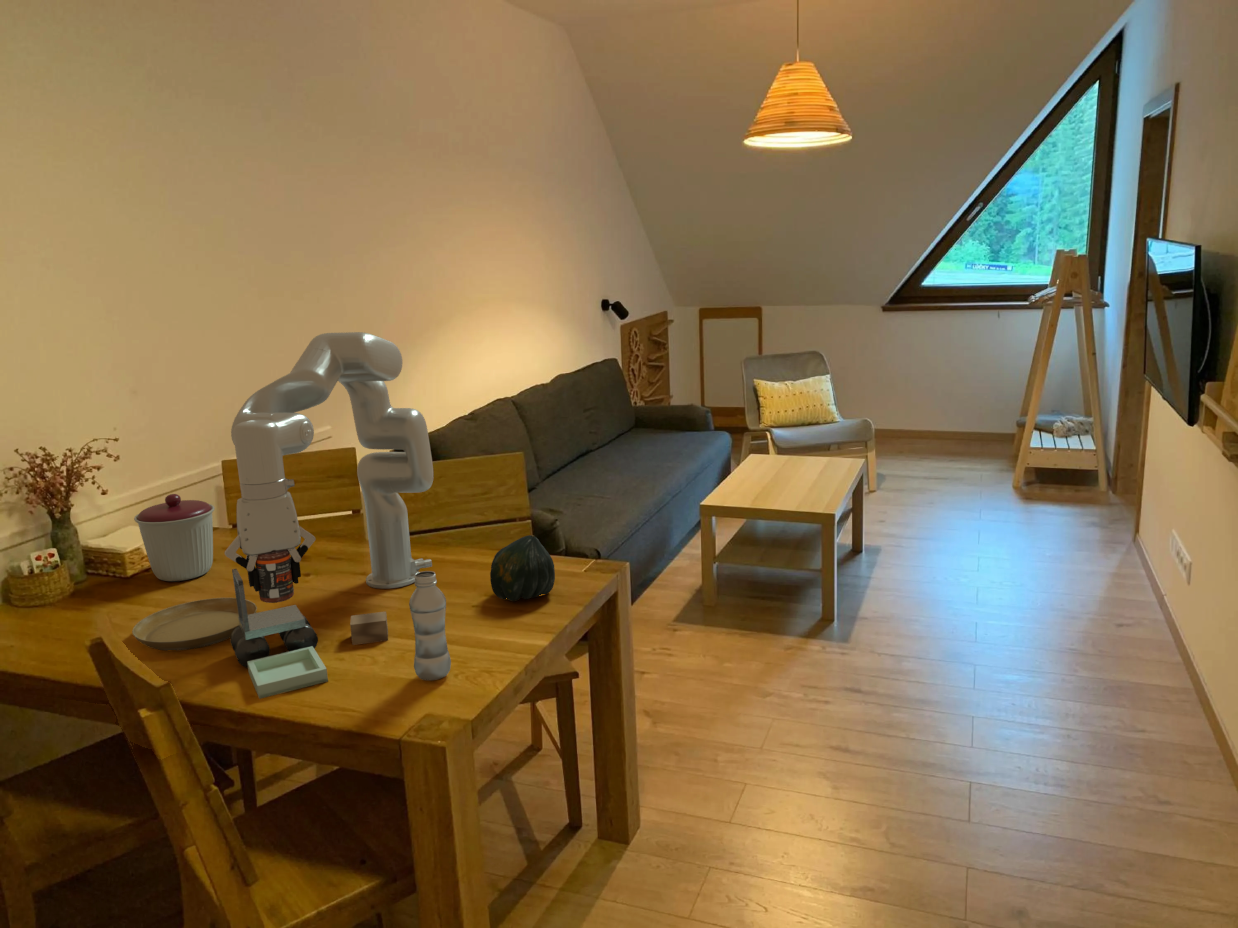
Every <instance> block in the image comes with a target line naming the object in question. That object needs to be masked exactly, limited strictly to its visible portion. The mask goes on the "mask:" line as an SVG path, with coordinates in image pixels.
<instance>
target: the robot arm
mask: <svg viewBox="0 0 1238 928" xmlns="http://www.w3.org/2000/svg"><path fill="white" fill-rule="evenodd" d="M402 369H403V356H402V353H401V351H400V348H399V347H398V345H396V344H395V343H394V342H393V341H390V340H387V339H385V338H383V337H379V336H377V335H374V334H372V333H368V332H365V331H364V332H363V331H362V332H360V331H349V332H348V331H347V332H327V333H320V334H318V335H316V336H314V337H313V338H312V339H311V340H310V342H309V344H308V345H307V346H306V348H305V349H304V351H303V352H302V354H301V355H300V356H299V359H298V360H297V361H296V363H295V365H294V366H293V368H292V369H291V371H290V372H289V373H287V374H286V375H284V376H281V377H280V378H278V379H277V378H276V379H275V380H274V381H272V382H271V383H269V384H267V385H265V386H263V387H262V388H260V389H258V390H257V391H255V392H254V393H252V395H250V396H249V397H248V398H247V399H246V401H245V402H244V403H243V404H242V406H241V408H240V409H239V410H238V412H237V414H236V415H235V417H234V419H233V421H232V425H231V429H230V430H231V431H230V434H231V435H230V437H231V441H232V443H233V445H234V450H235V456H236V464H237V471H238V472H237V473H238V479H239V489H240V494H241V497H240V498H238V499H237V500H236V529H237V536H236V537H235V538H234V539H233V540H232V542H231V543H230V544H229V545H228V547H227V548H226V550H225V551H224V556H225V557H226V558H228V559H229V560H231V561H233V562H234V563H236V564H238V565H239V566H241V567H243V569H245V570H246V571H247V577H248V578H247V579H248V584H249V585H248V586H249V587H250V588H252V587H253V590H254V591H255V592H256V593H257V592H259V590H260V586H259V578H258V571H257V569H256V564H255V563H256V559H257V556H258V555H260V554H264V553H268V552H271V551H272V550H287V549H288V551H289V553H290V562H291V570H292V579H293V584H296V585H297V584H299V578H301V577H302V572H301V566H300V562H301V561H302V558H303V557H304V555H305V554H306V553H307V551H308V550H309V549H310V548H311V546H312V545H313V544H314V542H315V541H316V536H314V535H313V534H312V533H310V532H309V531H307V530H305V529H304V528H303V527H302V526H301V525H299V520H298V519H299V518H298V514H297V510H296V507H295V502H294V500H293V497H292V494H291V492H290V491H288V490H289V489H290V488H292V487H295V481H294V478H292V479H291V478H290V479H289V478H288V479H287V478H286V475H285V469H284V468H285V467H284V458H283V457H284V456H286V455H293V454H299V453H302V452H303V451H305V450H306V449H308V447H310V445H311V443H312V441H313V440H314V436H315V430H314V425H313V423H312V421H311V420H310V419H309V418H308V417H307V416H306V415H304V414H301V413H299V412H302V411H305V410H308V409H311V408H314V407H316V406H318V405H321V404H322V403H325V402H326V401H327V400H328V399H329V397H330V395H331V393H332V391H333V390H334V388H335V386H336V385H337V383H338V382H339V383H340V384H341V385H342V386H343V387H344V388H345V390H346V392H347V394H348V397H349V401H350V405H351V410H352V415H353V420H354V426H355V431H356V435H357V438H358V439H357V440H358V442H359V444H360V445H361V446H362V448H364V449H369V450H383V451H378V452H377V451H376V452H371V453H368V454H365V455H364V456H362V457H361V458H360V459H359V461H358V462H357V463H358V464H357V467H356V468H357V469H356V475H357V479H358V483H359V487H360V489H361V492H362V493H361V494H362V497H363V501H364V507H365V508H364V509H365V516H366V527H367V538H368V545H369V546H368V547H369V555H370V556H369V557H370V558H369V559H370V566H371V573H369V574H368V575H367V576H366V578H365V581H366V582H365V583H366V585H367V586H369V587H371V588H372V589H373V588H374V589H379V590H380V589H383V590H384V589H385V590H386V589H396V588H402V587H405V586H409V585H411V584H415V577H414V576H415V574H416V573H419V572H420V569H426V568H430V567H433V562H432V559H430V558H428V559H427V558H426V559H424V558H422V557H421V558H417V559H414V558H413V557H412V552H411V551H412V550H411V549H412V548H411V541H410V540H411V538H410V529H409V527H410V526H409V518H408V508H407V505H406V503H405V501H404V500H403V498H402V497H401V496H400V494H399V493H403V494H404V493H406V494H407V493H411V494H412V493H422V492H423V493H424V492H426V491H428V490H429V489H430V488H431V487H432V485H433V481H434V466H433V465H434V464H433V457H432V451H431V444H430V438H429V431H428V425H427V422H426V419H425V417H424V415H423V413H421V412H420V411H419V410H418V409H416V408H410V407H393V406H392V403H391V402H390V396H389V390H388V387H387V384H386V383H385V382H391V381H394V380H395V379H397V378H398V377H399V376H400V374H401V373H402ZM384 450H403V451H384ZM301 537H302V538H303V539H304V540H303V541H302V538H301ZM239 549H240V550H242V553H243V555H245V556H246V558H245V557H244V556H242V555H240V554H238V553H237V551H238V550H239Z"/></svg>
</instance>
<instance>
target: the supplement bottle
mask: <svg viewBox="0 0 1238 928" xmlns="http://www.w3.org/2000/svg"><path fill="white" fill-rule="evenodd" d="M290 557H291V555H290V553H289V551H288V549H287V550H272V551H271V552H268V553H264V554H260V555H258V556H257V559H256V563H255V567H256V569H257V571H258V578H259V586H260V590H259V591H258V596H259V600H260V601H261V602H263V603H266V604H275V603H282V602H285V601H287V600H290V599H291V598H293V596H294V594H295V593H294V592H295V591H294V590H295V589H294V582H293V579H292V570H291V562H290V559H291V558H290Z"/></svg>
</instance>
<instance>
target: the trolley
mask: <svg viewBox="0 0 1238 928" xmlns="http://www.w3.org/2000/svg"><path fill="white" fill-rule="evenodd" d="M231 574H232V578H233V579H232V580H233V585H234V592H235V598H236V602H237V609H238V616H239V617H238V621H239V626H238V627H236V628H235V629H234V630H233V632H232V633H231V637H230V638H229V643H230V646H231V648H232V650H233V651H234V654H235V658H236V660H237V662H238V663H239V664H240V665H241V666H242V667H244V668H246V669H248V664H247V661H251V660H256V659H260V658H264V657H268V656H271V647H270V645H269V643H268V641H267V639H266V638H265V636H269V635H274V634H278V636H279V637H280V639H281V640H282V641H283V643H284V646H285V648H286V650H287V652H290V651H294V650H298V649H302V648H307V647H311V646H313V648H314V649H316V648H317V645H318V642H319V641H318V640H319V637H318V634H317V633H316V631H315V629H314V628H313V627H312V626H311V623H310V621H309V620H308V618H306V616H305V615H304V614H303V613H302V612H301V611H300V609H299V608H298V607H297V605H296V604H294V605H293V604H292V605H288V606H284V607H283V606H282V607H279V608H275V609H270V610H269V609H268V610H264V611H259V612H256V613H254V614H249V615H247V608H246V600H247V599H246V594H245V587H244V581H243V580H244V579H242V576H241V575H240V573H239V571H238V569H237V568H233V569H232V570H231Z"/></svg>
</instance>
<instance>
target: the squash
mask: <svg viewBox="0 0 1238 928" xmlns="http://www.w3.org/2000/svg"><path fill="white" fill-rule="evenodd" d="M490 566H491V567H490V572H489V575H490V577H489V578H490V579H489V581H490V584H491V585H490V587H491V590H492V592H493V594H494V595H495V596H496V597H497V598H498V599H501V600H504V599H506V598H507V599H509V601H510V602H517V601H519V600H520V599H521V598H522V599H524V600H530V599H531V598H537V596H539V595H541V594H546V595H547V593H548V594H549V593H550V592H551V591H552V590H553V588H554V584H555V582H556V581H555V579H556V573H555V572H556V570H555V564H554V561H553V558H552V557H551V555H550V553H549V552H548V550H547V549H546V548H545V546H543V544H542V543H541V542H540V540H539V539H538V538H537V537H536V536H535V535H533V534H531V535H524V536H523V537H520V538H518V539H516V540H514V541H513V542H511V543H509V544H508V545H506V546H505V547H502V548H501V549H500V550H498V551H497V552H496V553H495V554H494V556H493V559H492V562H491V564H490Z"/></svg>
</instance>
